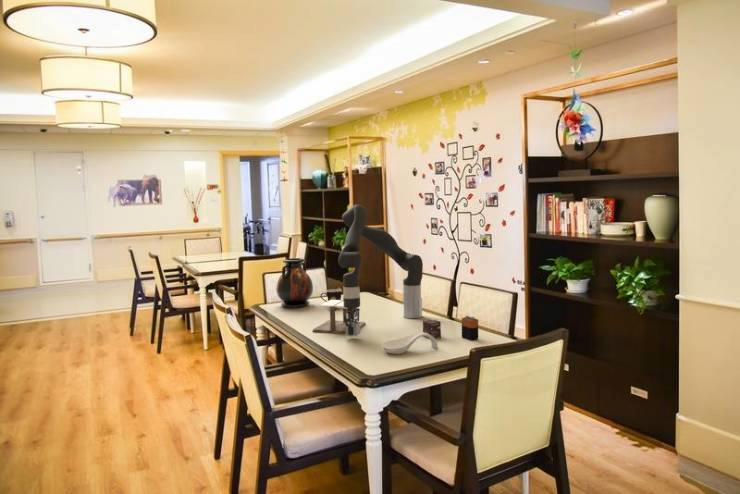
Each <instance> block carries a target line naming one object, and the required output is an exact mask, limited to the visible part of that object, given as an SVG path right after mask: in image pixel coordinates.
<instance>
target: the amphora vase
mask: <svg viewBox="0 0 740 494" xmlns="http://www.w3.org/2000/svg"><path fill="white" fill-rule="evenodd" d="M305 261H306V260H305V259H304V258H303V257H302V258H301V257H292V258H290V257H289V258H284V259H283V260H282V262H283V263H285V265H283V266H282V269H281V275H280V277H279V278H278V280H277V284H276V294H277V297H278V298H279V299H280V300H281V301H282V303H281V304H280V305H281V307H283V308H286V309H301V308H306V307H308V306H309V305H310V301H309V300H310V298H311V297H312V295H313V292H314V284H313V281H312V278H311V277H310V275H309V274H308V273H307V267H306V263H305Z"/></svg>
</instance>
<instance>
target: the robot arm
mask: <svg viewBox="0 0 740 494" xmlns="http://www.w3.org/2000/svg"><path fill="white" fill-rule="evenodd" d="M341 218H342V222H343V223H344V224H345V225H346V226H347V227H348V228H349V230H348V231H347V234H346V236H345V239H344V245H343V248H342V250H341V251H340V253H339V256H338V259H337V260H338V261H337V262H338V265H339V266H340V267H341V268H342V269H351V268H352V269H353V271H351V272H346V273H345V274H343V275H342V276H343V277H342V279H343V280H342V282H343V289H342V290H343V291H342V297H343V298H342V300H343V302H344V307H345V308H347V314H345V323H346V326H347V327H348V335H353V322H360V306H361V290H360V270H361V267H362V263H363V256H362V254H361V253H360V252H359V251H360V246H361V240H362V239H361V238H362V237H363V238H364V239H366V240H367V241H368V242H370V243H371V244H372V245H374V247H376V248H377V249H378V250H380V251H381V252H382V253H383V254H385V255H387V256H388V257H389V258H390V259H392V260H393V261H394V262H395V263H396V264H397V265H398V266H399V267H400V268H401V269H403V271H406V272H407V276H406V278H404V279H403V280H402V282H403V283H402V284H403V285H402V287H403V288H402V291H403V318H405V319H421V317H422V316H423V298H422V281H423V280H422V279H423V271H424V269H423V268H424V267H423V266H424V263H423V260H422V259H423V258H422V257H421V256H420V255H419V254H413V253H412V254H411V253H408V252H407V251H405V250H404V249H402V248H401V247H400V246H399V245H398V243H397V241H396V239H395V238H394V237H393V235H392V234H390V233H389V232H388V231H386V230H385V229H382V228H377V227H373V226H372V227H371V226H368V225H366V222H367V220H368V211H367V209H366V208H365V207H364V206H363V205H361V204H354V205H353V206H351V207H350V208H349V209H347V210H346V211H345V212H344V213H343V214H342V216H341ZM349 322H350V324H349Z"/></svg>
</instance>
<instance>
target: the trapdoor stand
mask: <svg viewBox="0 0 740 494" xmlns="http://www.w3.org/2000/svg"><path fill="white" fill-rule="evenodd" d="M345 314H347V309H346V308H342V320H336V309H335V306H330V308H329V320H326V321H325V322H322V323H321V324H320V325H317V326H316V327H314V328H313V329H312V333H326V334H337V335H341V334H342V335H346V323H345ZM359 322H360V329H362V328H363V327H364V326H365V325H366V321H359Z"/></svg>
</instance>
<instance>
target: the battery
mask: <svg viewBox="0 0 740 494" xmlns="http://www.w3.org/2000/svg"><path fill="white" fill-rule="evenodd" d="M461 339H465V340H468V341H472V342H473V341H477V340H478V339H479V319H478V318H475V316H469V315H465V316H464V317H462V318H461Z"/></svg>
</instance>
